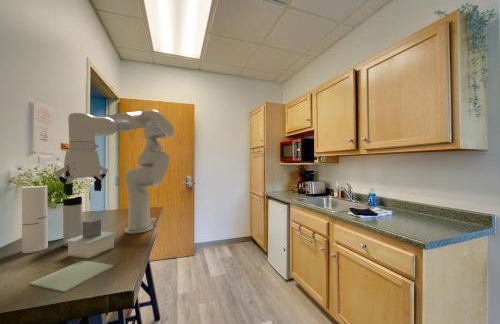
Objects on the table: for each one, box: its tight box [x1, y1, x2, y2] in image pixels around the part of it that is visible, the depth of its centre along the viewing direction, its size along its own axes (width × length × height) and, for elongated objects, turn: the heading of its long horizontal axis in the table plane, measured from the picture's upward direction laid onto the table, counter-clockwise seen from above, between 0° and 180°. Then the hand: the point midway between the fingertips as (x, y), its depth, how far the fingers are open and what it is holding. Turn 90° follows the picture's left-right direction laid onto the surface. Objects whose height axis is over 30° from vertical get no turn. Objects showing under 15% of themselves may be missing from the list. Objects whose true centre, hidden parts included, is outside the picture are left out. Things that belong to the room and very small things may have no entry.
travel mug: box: [62, 196, 84, 247], centre depth 88 cm, size 6×7×20 cm
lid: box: [66, 218, 117, 245], centre depth 79 cm, size 11×11×7 cm
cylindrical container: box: [21, 185, 49, 254], centre depth 83 cm, size 7×7×25 cm
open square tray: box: [67, 235, 115, 260], centre depth 79 cm, size 10×10×5 cm
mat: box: [29, 259, 115, 293], centre depth 63 cm, size 14×14×1 cm
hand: (84, 192), depth 77 cm, fingers open, 9 cm apart
